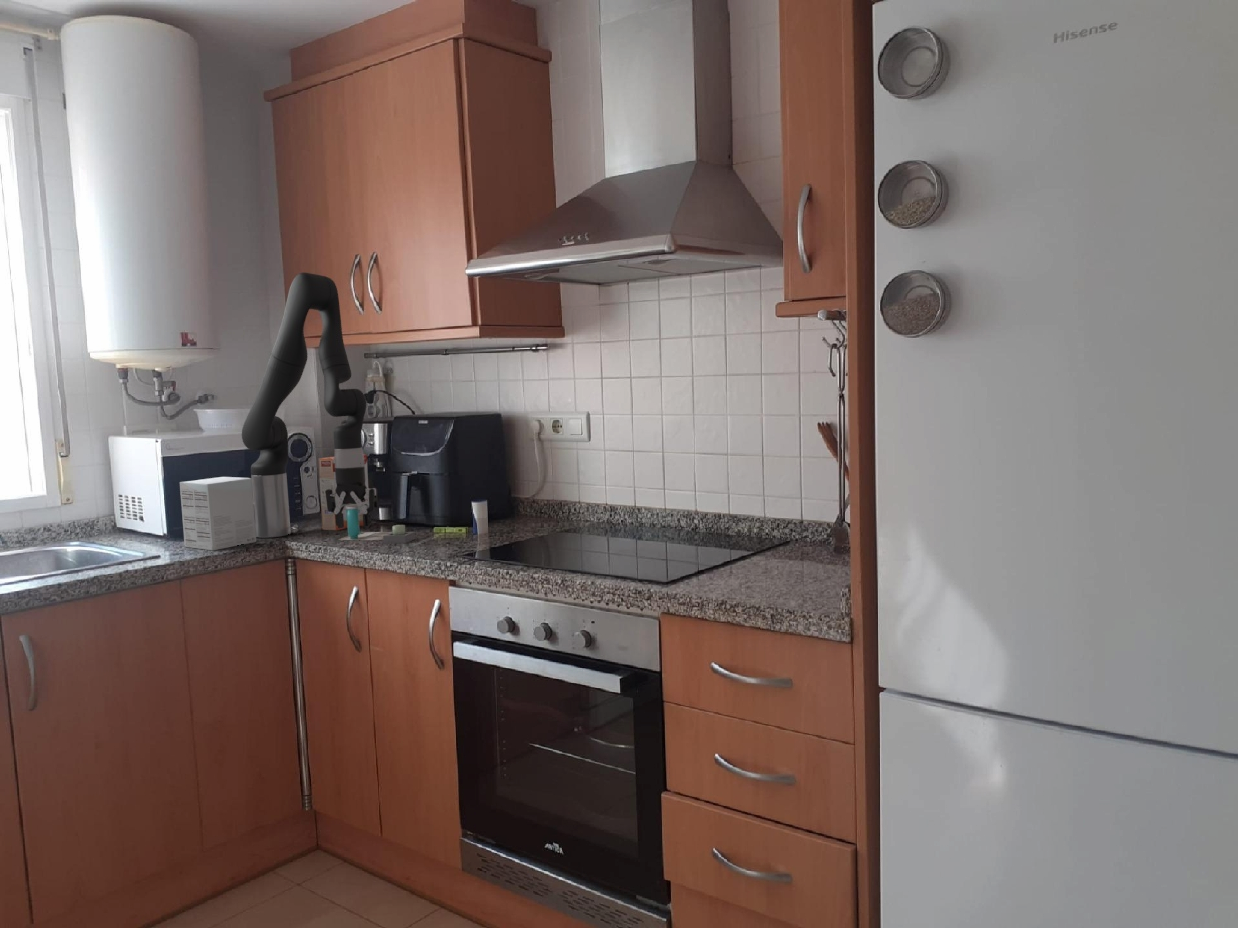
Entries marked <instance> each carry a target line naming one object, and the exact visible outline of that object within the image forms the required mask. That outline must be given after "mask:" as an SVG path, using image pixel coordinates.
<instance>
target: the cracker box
mask: <svg viewBox="0 0 1238 928" xmlns="http://www.w3.org/2000/svg"><path fill="white" fill-rule="evenodd" d="M363 455H364V461H365V464H364V467H365V486H366V487H367V488H369V477H368V475H369V473H368V455H367V454H365V453H363ZM318 470H319V474H318V475H319V489H320V490H319V491H320V492H319V493H320V507H321V509H320V510H321V525H322V526H321V527H322V530H324V531H325V530H326V531H339V530H345V529H348V527H347V512H346V506H352V505H357V504H351V503H349V504H347V505H346V506H345V507H344V509H343V511H342V513H343V518H344V527H343V528H338V526H336V520H335V514H334V513H333V512H329V511H328V509H327V501H326V493H325V491H326V490H327V489H331V488H332V489H336V487H337V484H336V476H335V462H334V456H329V457H320V458H318ZM364 497H365V498H366V500H367V502H368V505H369V496H368V494H367V493H366V494H365V496H364ZM338 500H339V496H338V495H337V494H336V496H335V502H336V504H337V502H338ZM336 506H337V505H336ZM357 506H358V505H357ZM363 514H364V513H363V511H362V510H361V508H360V507H358V515H359V527H363Z"/></svg>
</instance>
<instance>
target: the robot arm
mask: <svg viewBox="0 0 1238 928" xmlns="http://www.w3.org/2000/svg"><path fill="white" fill-rule="evenodd" d="M310 310H315V311H318V314H319V316H320V318H321V322H322V323H321V324H322V333H321V336H320V340H319V344H318V350H317V351H318V352H317V353H318V359H319V363H320V366H321V367H320V368H321V370H322V375H323V382H324V383H323V384H324V385H323V386H324V388H323V389H324V390H323V391H324V392H323V394H324V395H323V405H324V408H325V410H326V413H328V414H329V415H330V416H331V417H336V418H340V417H347V419H346V422H345V423H344V424H341V425H338V426H336V427H335V428H334V429H333V444H334V445H333V447H334V454H333V455H334V456H333V457H334V462H335V476H336V484H337V487H336V489H332V488H331V489H327V490H326V491H325V493H326V501H327V509H328V511H329V512H333V513H334V514H335V520H336V526H338V528H343V527H344V518H343V513H342V511H343V509H344V507H345V506H346V505H347V504H349V503H351V504H357V505H358V507H360V508H361V510H362V511H363V513H364V514H363V526H362V527H363V529H368V528H370V526H371V525H372V515H371V514H372V513H373V512H375V511H377V510H378V507H379V506H378V505H379V504H378V501H379V500H378V489H377V488H376V487H373V488H369V487H368V488H367V487H366V486H365V467H364V464H365V461H364V455H363V454H364V451H363V438H362V437H363V436H362V429H363V424H364V419H365V414H366V411H367V410H366V409H367V399H366V396H365V394H364V392H363V391H362V390H360V389H358V388H346V389H345V388H343V389H340V384H343V383H346V382H348V381H350V379H351V378H352V370H351V366H350V362H349V359H348V356H347V352H346V347H345V343H344V338H343V330H342V329H343V327H342V319H341V318H342V317H341V308H340V298H339V292H338V287H337V285H336V283H335V281H334V280H333V279H332V278H330V277H329V276H325V275H320V274H316V273H310V272H300V273H298V274H297V275H296V276H295V277H294V278H293V280H292V281H291V285H290V287H289V289H288V294H287V299H286V302H285V307H284V312H283V317H282V320H281V323H280V327H279V330H278V333H277V337H276V340H275V342H274V345H273V348H272V350H271V353H270V356H269V359H268V362H267V366H266V367H265V368H266V369H265V371H264V375H263V377H262V379H261V383H260V386H259V389H258V392H257V394H256V396H255V399H254V401H253V403H252V406H251V407H250V410H249V412H248V414H247V415H246V418H245V420H244V422H243V426H242V429H241V440H242V442H243V445H244V446H245V448H247V449H248V450H251V451H260V454H259V457H258V458H257V459H256V461H254V462H253V463H252V464H251V466H250V475H251V477H250V478H251V480H252V494H253V506H254V519H255V531H256V538H261V539H264V538H277V537H278V538H279V537H285V536H288V534H289V535H290V534H291V523H290V521H291V520H290V506H289V505H290V504H289V491H288V479H287V466H288V463H289V435H288V428H287V425H286V423H285V421H284V420H283V419H282V418H281V417H279V416H277V412H278V411H279V408H280V406H281V405H282V403H283V402H284V401H285V399H287V397H289V395H290V394H291V393H292V392H293V390H295V388H296V387H297V386H298V384H299V383H300V380H301V378H302V376H303V373H304V371H305V368H306V365H307V362H308V347H307V343H306V338H305V332H304V331H305V330H304V327H305V322H306V318H307V316H308V313H309V311H310ZM366 493H367V494H368V496H369V505H368V502H367V500H366V498H365V497H364V496H365V494H366ZM336 494H337V495H338V496H339V500H338V502H337V504H336V502H335V496H336ZM336 505H337V506H336Z"/></svg>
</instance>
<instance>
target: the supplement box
mask: <svg viewBox="0 0 1238 928" xmlns="http://www.w3.org/2000/svg"><path fill="white" fill-rule="evenodd" d="M179 491H180V492H179V493H180V505H181V515H182V518H181V519H182V528H183V530H182V531H183V540H184V541H183V543H184V547H185V548H193V549H197V550H199V549H200V550H206V551H217V550H223V549H226V548H232V547H233V548H234V547H238V546H237V545H239V546H242V545H241V544H244V545H248V544H252V543H253V544H254V543H256V542H257V537H256V531H255V519H254V506H253V491H252V479H251V477H234V476H233V477H232V476H219V477H212V478H211V477H210V478H209V477H208V478H204V479H197V480H187V481H179Z"/></svg>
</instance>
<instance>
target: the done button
mask: <svg viewBox="0 0 1238 928" xmlns="http://www.w3.org/2000/svg"><path fill="white" fill-rule="evenodd" d="M391 529H392V531H391V532H393V535H405V532H406V525H405V524H396V525H392V527H391Z"/></svg>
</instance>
